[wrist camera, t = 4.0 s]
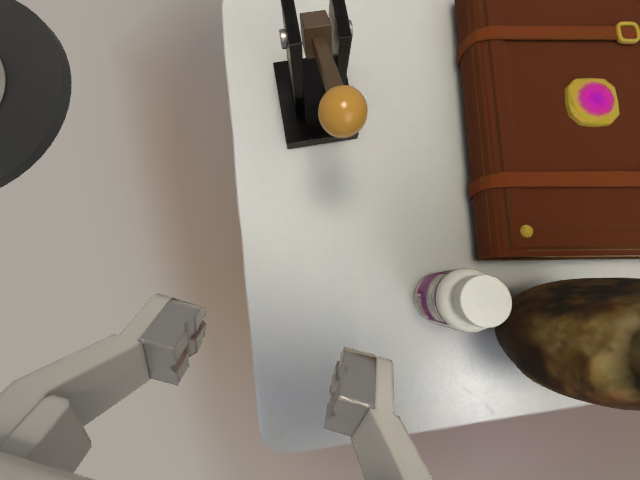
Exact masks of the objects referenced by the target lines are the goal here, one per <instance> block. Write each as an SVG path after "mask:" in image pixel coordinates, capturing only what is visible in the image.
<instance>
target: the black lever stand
mask: <svg viewBox="0 0 640 480" xmlns="http://www.w3.org/2000/svg"><path fill="white" fill-rule="evenodd" d="M281 6H282V15H283V24H284V29H280V30H279V32H280V39H281V45H282V49H286V51H287V60H288V61H283V62H275V63H273V65H274V71H275V77H276V83H277V89H278V95H279V101H280V107H281V113H282V119H283V124H284V130H285V136H286V142H287V148H288V149H290V148H297V147H303V146H310V145H316V144H323V143H329V142H336V141H342V140H349V139H355V138H357V137H358V134H359V132H357V133H356V134H355V135H353V136H350V137H347V138H337V137H334V136H332V135H330V134H328V133H327V132H326V131H325V130H324V129H323V127H322V126H321V123H320V121H319V116H318V108H319V104H320V101H321V99H322V97H323V96H324V94H325V93H326V90H325V87H324V84H323V81H322V78H321V74H320V71H319V68H318V65H317V62H316V58H311V59H307V58H304V59H303V58H302V42H301V37H300V31H299V26H298V20H297V15H296V10H295V4H294V0H281ZM329 20H330V23H331V28H332V56H333V59H334V61H335V64H336V67H337V69H338V72H339V75H340V77H341V80H342V83H343V85H349V84H348V79H347V67H348V61H349V54H350V48H351V41H352V35H353V29H352V23H351V20H349V19H348V14H347V10H346V5H345V0H330V4H329Z"/></svg>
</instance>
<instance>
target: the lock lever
mask: <svg viewBox="0 0 640 480" xmlns="http://www.w3.org/2000/svg"><path fill="white" fill-rule="evenodd" d="M300 24H301V34H302V44H303V47H304V51H305V55H306V58H307V59H311V58H316V62H317V65H318V68H319V71H320V74H321V78H322V81H323V84H324V87H325V90H326V93H325V94H324V96H323V97H322V99H321V101H320V104H319V108H318V116H319V121H320V123H321V126H322V127H323V129H324V130H325V131H326V132H327V133H328V134H330V135H332V136H334V137H337V138H347V137H350V136H353V135H355V134H356V133H357V132H359V131H360V130H361V128H362V127H363V125H364V123H365V121H366V118H367V104H366V100H365V98H364V96H363V95H362V94H361V92H360V91H358V90H357V89H356V88H354V87H352V86H349V85H343V83H342V80H341V77H340V75H339V72H338V69H337V67H336V64H335V61H334V59H333V56H332V28H331V23H330V20H329V18H328V16H327V13H326V11H325V10H322V11H314V12H307V13H300Z"/></svg>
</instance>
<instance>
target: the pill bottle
mask: <svg viewBox="0 0 640 480" xmlns="http://www.w3.org/2000/svg"><path fill="white" fill-rule="evenodd" d="M414 299H415V304H416V307H417V309H418V311H419V312H420V314H421V315H422V316H423V317H424V318H425V319H426V320H428V321H429V322H431V323H434V324H437V325H441V326H445V327H449V328H452V329H456V330H459V331H463V332H479V331H482V330H484V329H486V328H491V327H496V326H498V325H500V324H502V323H503V322H504V321H505V320H506V319H507V318H508V316H509V314H510V312H511V309H512V299H511V295H510V292H509V290H508V289H507V287H506V286H505V285H504V284H503V283H502V282H501V281H500V280H499V279H497V278H495V277H493V276H489V275H485V274H483V273H482V272H480V271H477V270H473V269H456V270H450V271H444V272H438V273H433V274H430V275H428V276H426V277H424V278H423V279H422V280H421V281H420V282H419V284H418V285H417V287H416V290H415V297H414Z"/></svg>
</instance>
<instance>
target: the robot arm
mask: <svg viewBox="0 0 640 480" xmlns="http://www.w3.org/2000/svg"><path fill="white" fill-rule="evenodd" d="M5 85H6V75H5V70H4V66H3V63H2V61H1V59H0V103H1V101H2V98H3V95H4V91H5ZM205 315H206V310H205V308H204V307H201V306H198V305H194V304H191V303H188V302H185V301H181V300H178V299H175V298H172V297H168V296H165V295H161V294H156V295H154V296H153V297H152V298H151V299H150V300H149V301H148V302H147V303H146V305H145V306H144V307H143V308H142V309H141V310H140V312H139V313H138V314H137V315H136V316H135V318H134V319H133V320H132V321H131V322H130V323H129V324H128V326H127V327H126V328H125V329H124V330H123V331H122V332H121V334H120V335H115V334H113V335H111V336H109V337H107V338H105V339H103V340H101V341H98V342H96V343H94V344H92V345H90V346H88V347H85V348H83V349H81V350H79V351H77V352H75V353H73V354H71V355H68V356H66V357H64V358H62V359H60V360H58V361H55V362H53V363H51V364H49V365H47V366H45V367H43V368H41V369H38V370H36V371H34V372H32V373H30V374H28V375H25V376H23V377H21V378H19V379H17V380H15V381H13V382H12V383H11V384H10V385H9V386H8V387H7V388H6V389H5V390H4V391H3V392H2V393H0V480H94V479H90V478H87V477H84V476H81V475H77V474H74V471H75V470H76V469H77V467H78V466H79V464H80V463H81V461H82V460H83V458H84V457H85V455H86V454H87V452H88V451H89V449H90V448H91V440H90V438H89V436H88V434H87V433H86V431H85V429H84V427H83V426H85V425H86V424H88V423H89V422H90V421H92V420H93V419H95V418H96V417H98V416H99V415H100V414H102V413H103V412H105V411H106V410H108V409H109V408H110V407H112V406H113V405H115V404H116V403H118V402H119V401H121V400H122V399H123V398H125V397H126V396H128V395H129V394H131V393H132V392H133V391H135V390H136V389H138V388H139V387H140V386H142V385H143V384H145V383H146V382H148V381H149V380H150V378H151V379H155V380H159V381H163V382H166V383H170V384H174V385H178V384H179V382H180V380H181V379H182V377H183V375H184V373H185V372H186V370H187V368H188V367H189V357H190V356H192V355H194V354H195V353H197V351H198V349H199V347H200V346H201V344H202V341H203V338H204V335H205V331H206V323H205V322H204V321H203V319H204V317H205ZM330 393H331V395H332V396H331V398H330V401H329V403H328V405H327V411H326V418H325V425H324V428H325V429H329V430H332V431H335V432H338V433H341V434H344V435H347V436H350V437H351V440H352V443H353V446H354V449H355V452H356V455H357V457H358V461H359V463H360V466H361V469H362V472H363V475H364V478H365V480H433V478H432V476H431V474H430V473H429V471H428V469H427V467H426V465H425V463H424V462H423V460H422V458H421V456H420V454H419V452H418V451H417V449H416V447H415V445H414V443H413V441H412V439H411V438H410V436H409V434H408V432H407V430H406V428H405V426H404V425H403V423H402V421H401V419H400V417H399V416H396V415H394V382H393V363H392V360H389V359H386V358H382V357H378V356H375V355H373V354H369V353H365V352H362V351H358V350H354V349H351V348H347V347H344V348H343V349H342V351H341V354H340V361H337V363H336V366H335V369H334V372H333V376H332V380H331V386H330Z"/></svg>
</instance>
